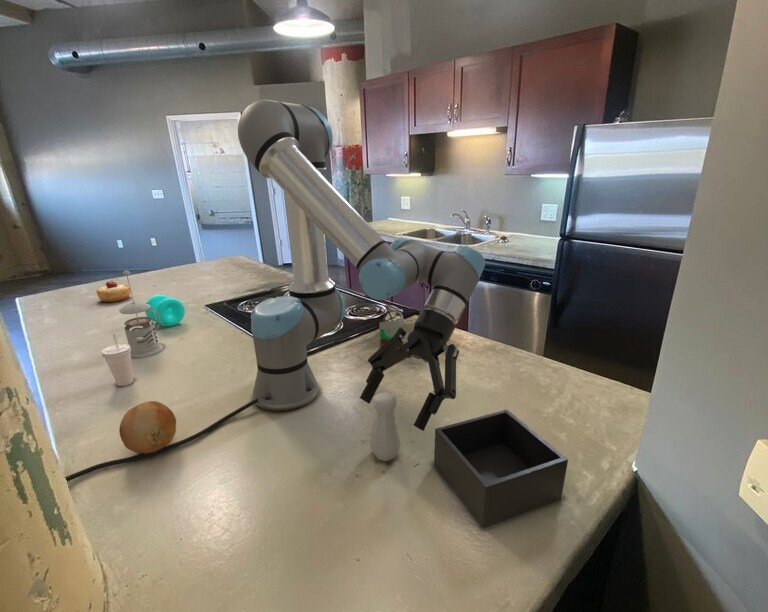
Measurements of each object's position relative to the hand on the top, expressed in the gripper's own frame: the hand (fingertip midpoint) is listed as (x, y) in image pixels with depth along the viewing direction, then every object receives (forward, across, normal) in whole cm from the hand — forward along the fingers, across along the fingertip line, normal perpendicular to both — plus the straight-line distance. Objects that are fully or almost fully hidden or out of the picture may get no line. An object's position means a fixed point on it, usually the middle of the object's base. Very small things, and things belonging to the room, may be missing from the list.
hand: (389, 414), depth 78 cm
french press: (+16, +88, +4) cm, 89 cm away
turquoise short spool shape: (+7, +106, -5) cm, 107 cm away
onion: (+28, +36, +16) cm, 48 cm away
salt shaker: (+7, 0, -5) cm, 9 cm away
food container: (-20, +32, -32) cm, 50 cm away
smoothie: (+24, +70, +12) cm, 75 cm away
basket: (+2, -19, -11) cm, 22 cm away
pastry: (+9, +153, -3) cm, 153 cm away
